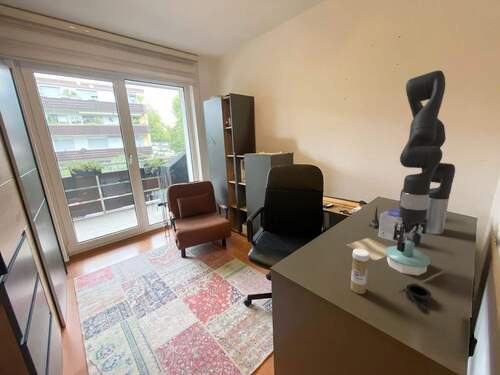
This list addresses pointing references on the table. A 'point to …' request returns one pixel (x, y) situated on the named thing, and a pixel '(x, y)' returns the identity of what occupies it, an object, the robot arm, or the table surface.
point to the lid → (408, 255)
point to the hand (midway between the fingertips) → (408, 248)
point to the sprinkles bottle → (359, 270)
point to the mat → (370, 248)
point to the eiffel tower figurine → (375, 223)
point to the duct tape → (418, 295)
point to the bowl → (406, 268)
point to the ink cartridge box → (389, 224)
